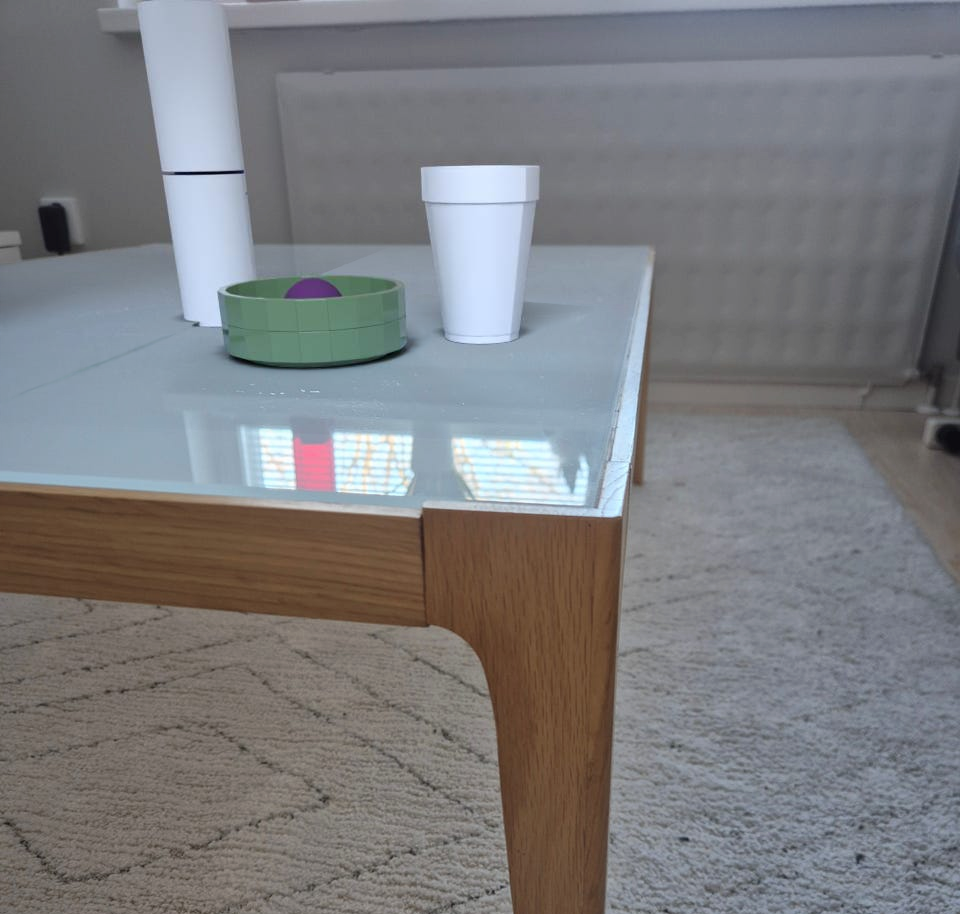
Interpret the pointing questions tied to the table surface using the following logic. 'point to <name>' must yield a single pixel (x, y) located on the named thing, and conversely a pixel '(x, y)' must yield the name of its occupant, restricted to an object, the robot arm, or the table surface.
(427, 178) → the foam cup
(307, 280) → the ball
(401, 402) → the table surface
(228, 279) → the cylindrical container
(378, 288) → the bowl
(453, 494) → the table surface
